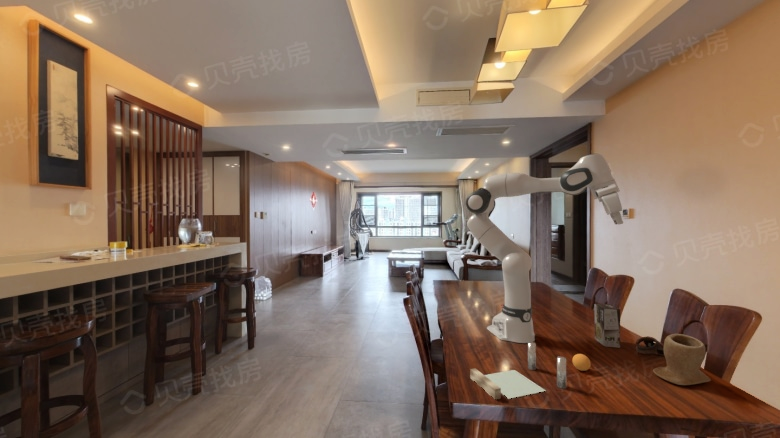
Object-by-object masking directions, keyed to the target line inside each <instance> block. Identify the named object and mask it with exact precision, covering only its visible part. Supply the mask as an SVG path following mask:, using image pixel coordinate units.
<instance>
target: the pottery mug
mask: <svg viewBox="0 0 780 438" xmlns="http://www.w3.org/2000/svg"><path fill="white" fill-rule="evenodd" d="M635 343H636V345H635V351H636V353H637V354H638V353H639V354H644V355H654V354H655V355H657V356H658V355H662V356H664V349H663V348H664V343H662V342H660V341H659V340H657V339H656V338H655V337H653V336H643V337H640V338H638V339H637V340H636V341H635ZM641 343H643V344H644V346H641V345H640V344H641Z"/></svg>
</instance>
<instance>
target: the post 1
mask: <svg viewBox="0 0 780 438" xmlns="http://www.w3.org/2000/svg"><path fill="white" fill-rule="evenodd" d="M536 358H537V343H536V342H535V341H533V342H528V343H527V368H528V370H531V371H535V370H536V369H537V359H536Z"/></svg>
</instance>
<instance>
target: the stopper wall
mask: <svg viewBox="0 0 780 438" xmlns="http://www.w3.org/2000/svg"><path fill="white" fill-rule="evenodd" d="M469 370H470V371H469V374H470V375H469V378H470V379H471V381H473V382H474V381H475V382H476V383H477V386H479V387H480V388H481V387H482V388H483V389H484V390H485V392H486V393H487V394H488V395H489V396H490V397H491V396H492V397H493V400H495V399H496V400H500V399H501V398H502V397H501V396H502V393H501V388H500V387H498V386H497V385H496V384H495V383H493V382H492V381H491V380H490V379H488V378H487V377H486V376H484V375H485V374H483V373H482V372H481V371H480V370H478V369H477V368H470V369H469ZM476 383H475V384H476ZM482 388H481V389H482ZM483 389H482V390H483ZM484 390H483V391H484ZM492 397H491V398H492Z"/></svg>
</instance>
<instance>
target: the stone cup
mask: <svg viewBox="0 0 780 438" xmlns="http://www.w3.org/2000/svg"><path fill="white" fill-rule="evenodd" d="M663 342H664V343H663V345H664V348H663V349H664V355H663V356H664V359H665V361H666V366H660V367H656V368H654V369H653V370H652V372H653V373H654V374H655V375H656V376H658V377H659V378H660V379H663V380H665V381H667V382H668V383H671V384H675V385H678V386H691V385H698V384H699V385H700V384H704V383H708V382H711V380H712V379H711V377H710V376H708V375H706V374H705V372H704V371H702V370H700V367H701V365H702V364H703V362H704V360H705V358H706V354H707V352H706V346H705V344H704V343H703V342H702V341H701V340H699V339H698V338H695V337H693V336H691V335H688V334H687V335H686V334H683V333H672V334H669V335H667V336H666V337H665V339H664V341H663Z"/></svg>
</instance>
